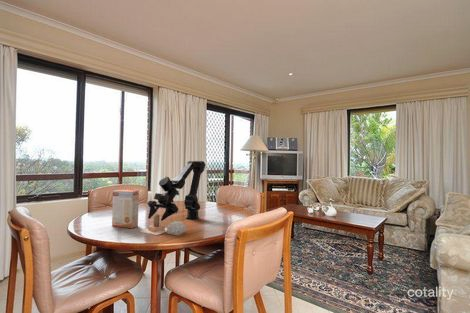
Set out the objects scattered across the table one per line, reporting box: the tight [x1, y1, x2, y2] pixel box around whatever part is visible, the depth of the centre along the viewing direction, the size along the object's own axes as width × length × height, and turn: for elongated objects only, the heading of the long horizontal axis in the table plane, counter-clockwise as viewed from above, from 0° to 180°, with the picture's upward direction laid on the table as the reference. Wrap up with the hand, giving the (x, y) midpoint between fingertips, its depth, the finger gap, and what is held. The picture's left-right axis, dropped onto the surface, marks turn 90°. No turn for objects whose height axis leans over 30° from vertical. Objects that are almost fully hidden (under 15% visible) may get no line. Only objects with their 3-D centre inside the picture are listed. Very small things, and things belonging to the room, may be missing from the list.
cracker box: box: [111, 189, 140, 229], centre depth 145 cm, size 14×6×21 cm, turn 71°
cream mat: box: [139, 227, 167, 236], centre depth 138 cm, size 12×12×1 cm
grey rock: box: [166, 220, 187, 236], centre depth 135 cm, size 7×7×6 cm
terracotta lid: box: [147, 214, 166, 232], centre depth 138 cm, size 7×7×8 cm
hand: (154, 219), depth 137 cm, fingers open, 9 cm apart
